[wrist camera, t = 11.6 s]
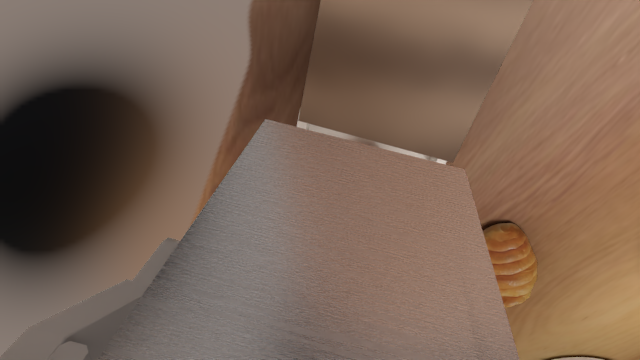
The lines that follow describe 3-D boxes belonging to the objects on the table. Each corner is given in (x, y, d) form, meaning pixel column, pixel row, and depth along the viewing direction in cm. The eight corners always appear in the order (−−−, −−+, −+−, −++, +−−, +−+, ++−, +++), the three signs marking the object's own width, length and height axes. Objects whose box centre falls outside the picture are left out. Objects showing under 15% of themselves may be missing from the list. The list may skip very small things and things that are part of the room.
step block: (444, 128, 32) (452, 162, 27) (313, 93, 32) (298, 120, 27) (512, -24, 25) (541, -16, 20) (345, -66, 25) (333, -69, 20)
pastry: (463, 221, 37) (470, 246, 34) (536, 215, 35) (550, 241, 32) (466, 284, 41) (472, 311, 38) (531, 282, 40) (543, 311, 37)
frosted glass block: (404, 285, 15) (412, 622, 8) (252, 244, 15) (118, 534, 8) (465, 169, 11) (584, 590, 4) (265, 119, 12) (46, 433, 4)
